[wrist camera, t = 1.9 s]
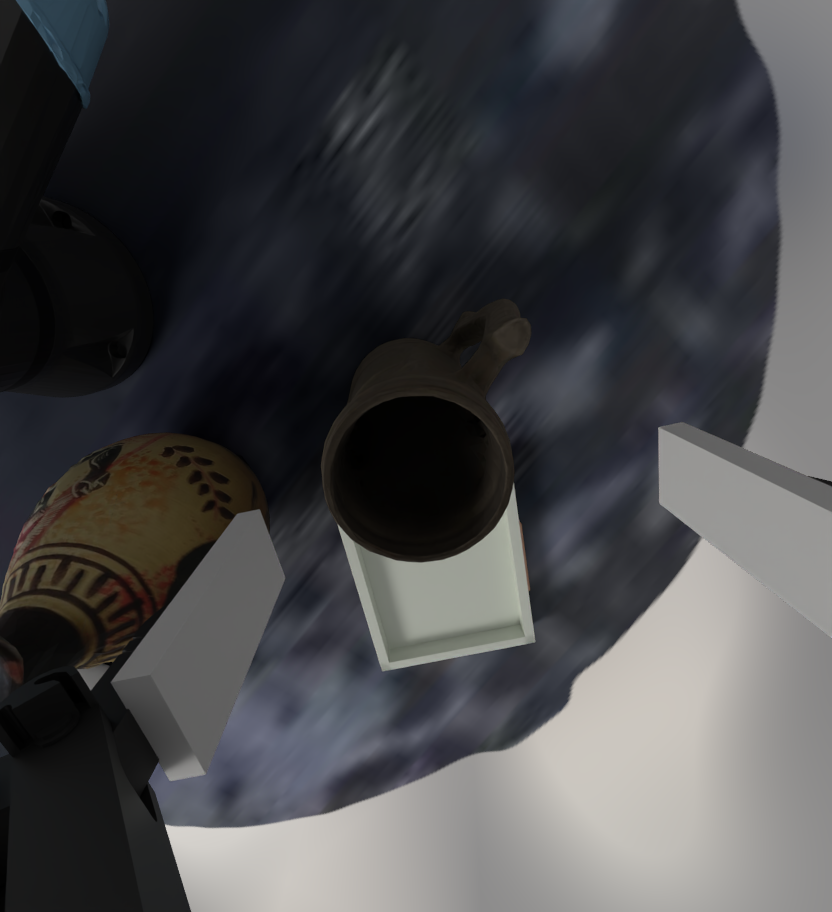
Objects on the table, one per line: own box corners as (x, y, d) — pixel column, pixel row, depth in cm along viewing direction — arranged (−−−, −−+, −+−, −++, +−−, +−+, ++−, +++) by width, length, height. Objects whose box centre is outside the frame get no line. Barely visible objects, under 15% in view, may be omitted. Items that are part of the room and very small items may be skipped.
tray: (382, 653, 50) (382, 671, 47) (334, 491, 42) (331, 502, 40) (531, 625, 49) (538, 641, 47) (508, 456, 42) (514, 465, 39)
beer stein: (433, 476, 42) (473, 600, 23) (329, 433, 40) (280, 529, 21) (506, 328, 39) (625, 327, 20) (396, 273, 37) (410, 213, 18)
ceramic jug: (180, 375, 38) (-442, 595, 10) (320, 481, 42) (163, 852, 14) (85, 506, 42) (-554, 932, 14) (221, 592, 46) (-57, 1057, 18)
